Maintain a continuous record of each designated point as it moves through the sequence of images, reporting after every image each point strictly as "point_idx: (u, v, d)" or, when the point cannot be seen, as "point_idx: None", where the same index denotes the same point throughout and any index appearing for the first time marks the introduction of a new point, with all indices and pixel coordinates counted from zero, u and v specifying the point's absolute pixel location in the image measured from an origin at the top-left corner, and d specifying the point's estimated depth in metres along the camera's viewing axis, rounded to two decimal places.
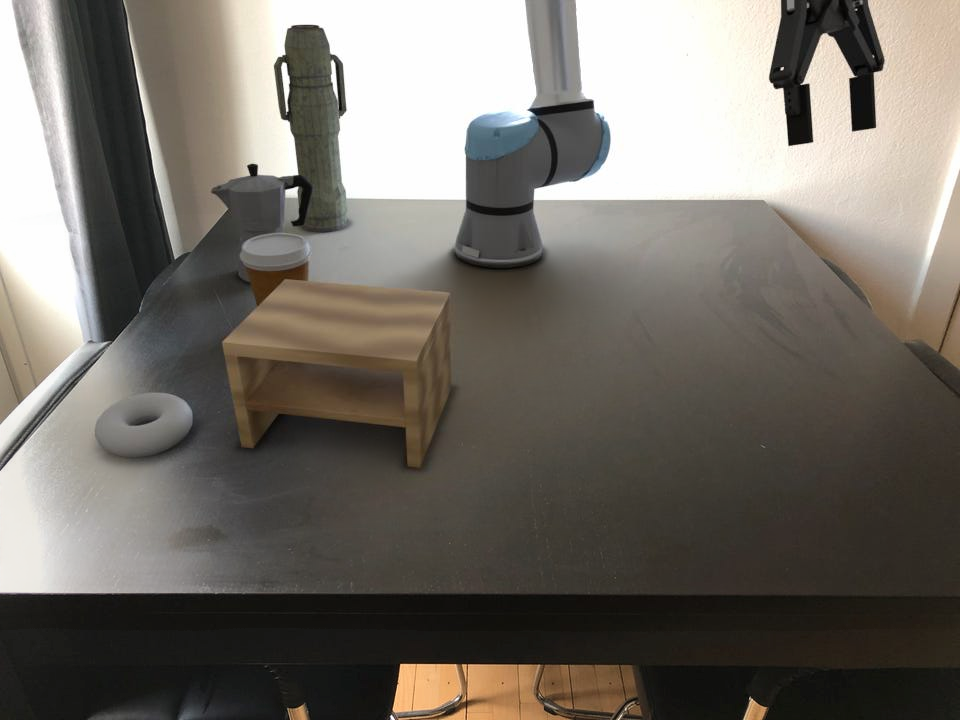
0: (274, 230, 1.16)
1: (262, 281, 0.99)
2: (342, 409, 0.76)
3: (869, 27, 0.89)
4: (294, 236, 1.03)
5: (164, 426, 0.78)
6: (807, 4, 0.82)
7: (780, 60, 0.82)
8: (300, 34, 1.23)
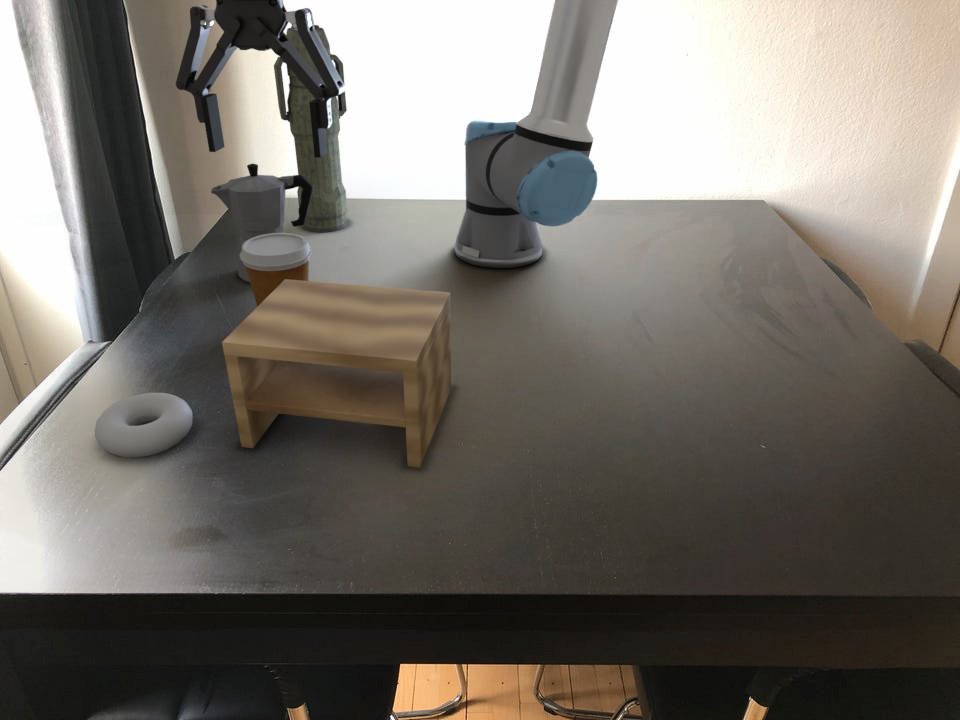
0: (274, 230, 1.16)
1: (262, 281, 0.99)
2: (342, 409, 0.76)
3: (309, 53, 0.85)
4: (294, 236, 1.03)
5: (164, 426, 0.78)
6: (201, 22, 0.85)
7: None
8: None
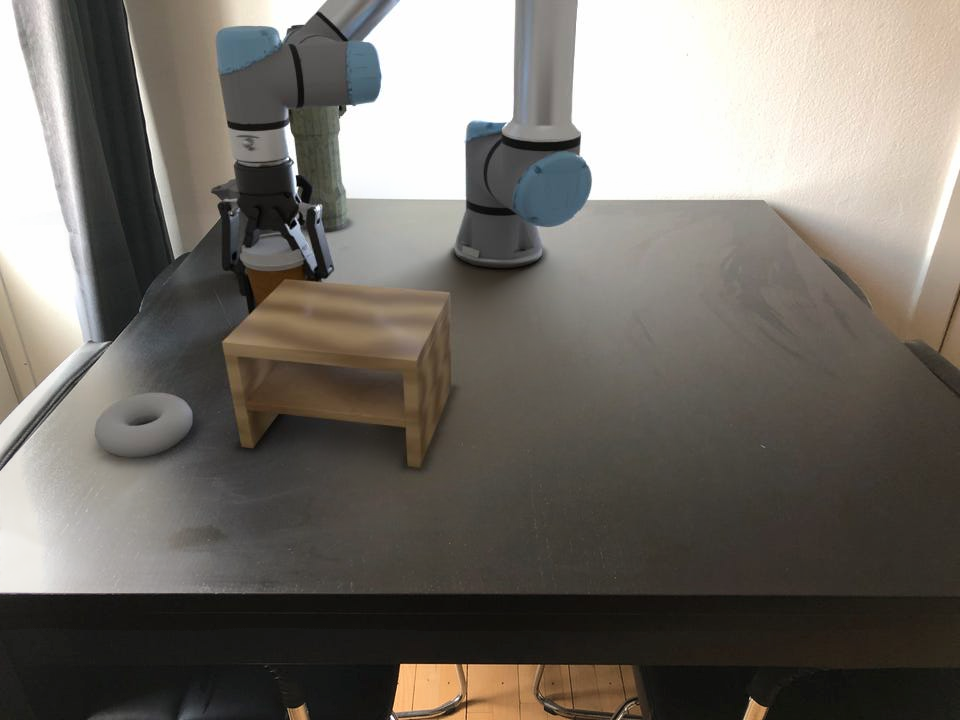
0: None
1: (262, 281, 0.99)
2: (342, 409, 0.76)
3: (310, 241, 0.98)
4: None
5: (164, 426, 0.78)
6: (228, 213, 0.98)
7: None
8: None
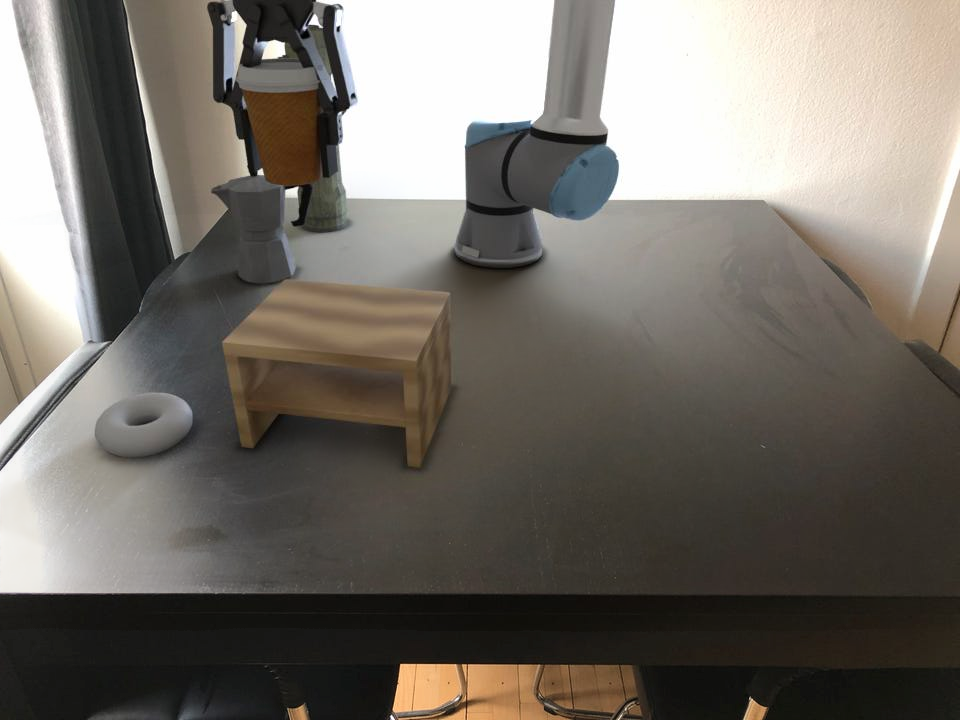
0: (274, 230, 1.16)
1: (263, 109, 0.76)
2: (342, 409, 0.76)
3: (328, 55, 0.74)
4: None
5: (164, 426, 0.78)
6: (221, 17, 0.75)
7: None
8: None
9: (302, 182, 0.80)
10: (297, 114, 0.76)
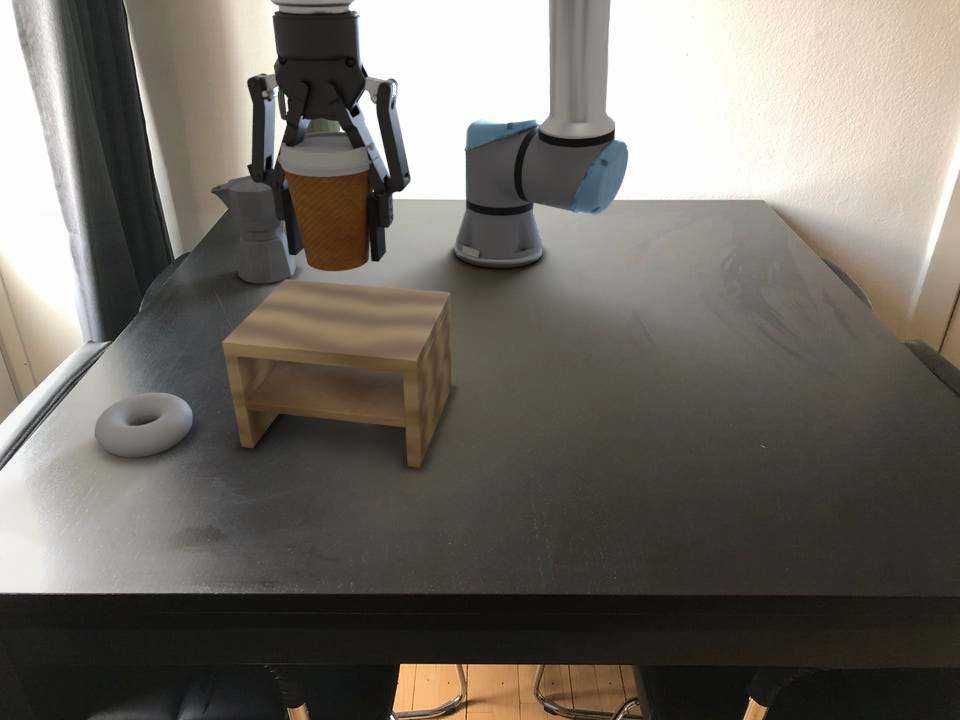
0: (274, 230, 1.16)
1: (310, 193, 0.69)
2: (342, 409, 0.76)
3: (381, 135, 0.68)
4: None
5: (164, 426, 0.78)
6: (263, 93, 0.68)
7: None
8: None
9: (349, 267, 0.74)
10: (347, 197, 0.69)
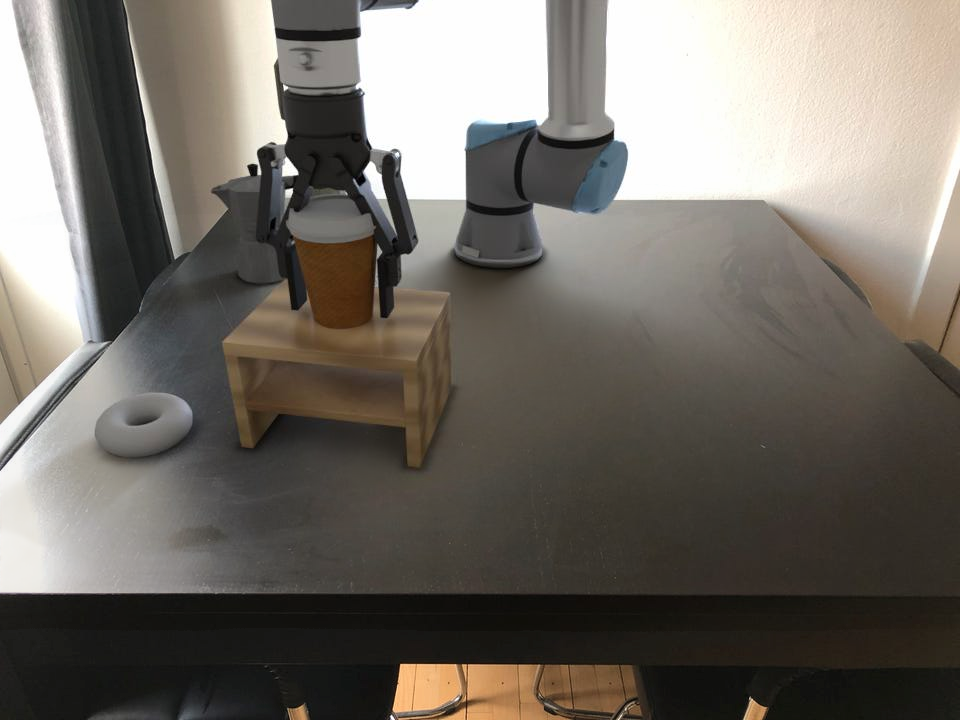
0: None
1: (317, 257, 0.72)
2: (342, 409, 0.76)
3: (388, 203, 0.71)
4: None
5: (164, 426, 0.78)
6: (271, 163, 0.71)
7: None
8: None
9: (354, 324, 0.77)
10: (352, 261, 0.73)
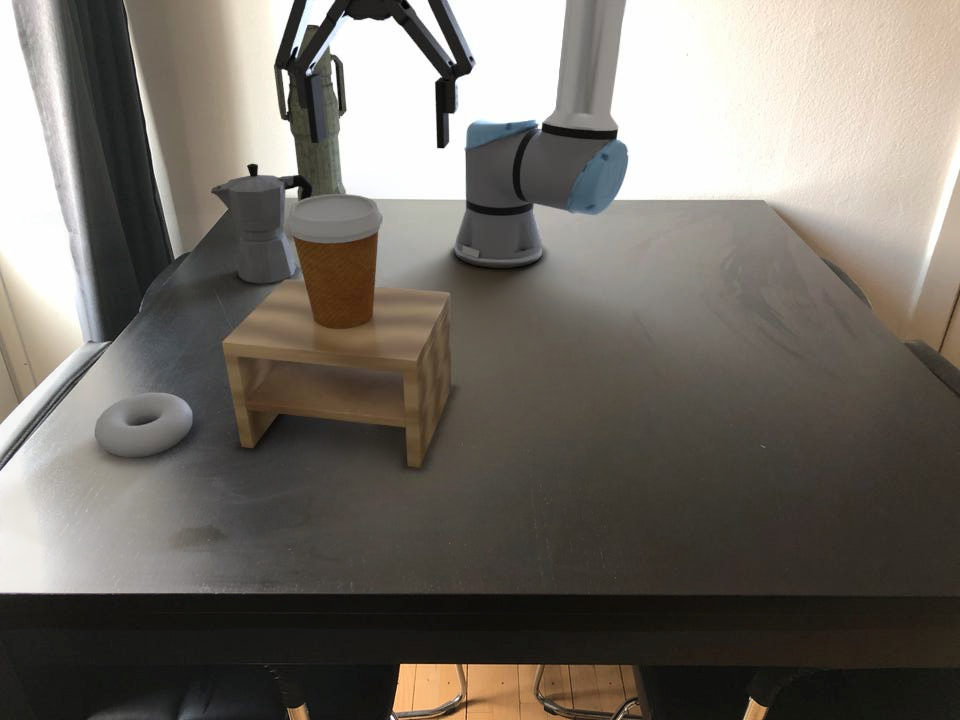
0: (274, 230, 1.16)
1: (317, 257, 0.72)
2: (342, 409, 0.76)
3: (438, 23, 0.70)
4: (357, 198, 0.76)
5: (164, 426, 0.78)
6: None
7: None
8: None
9: (354, 324, 0.77)
10: (352, 261, 0.73)
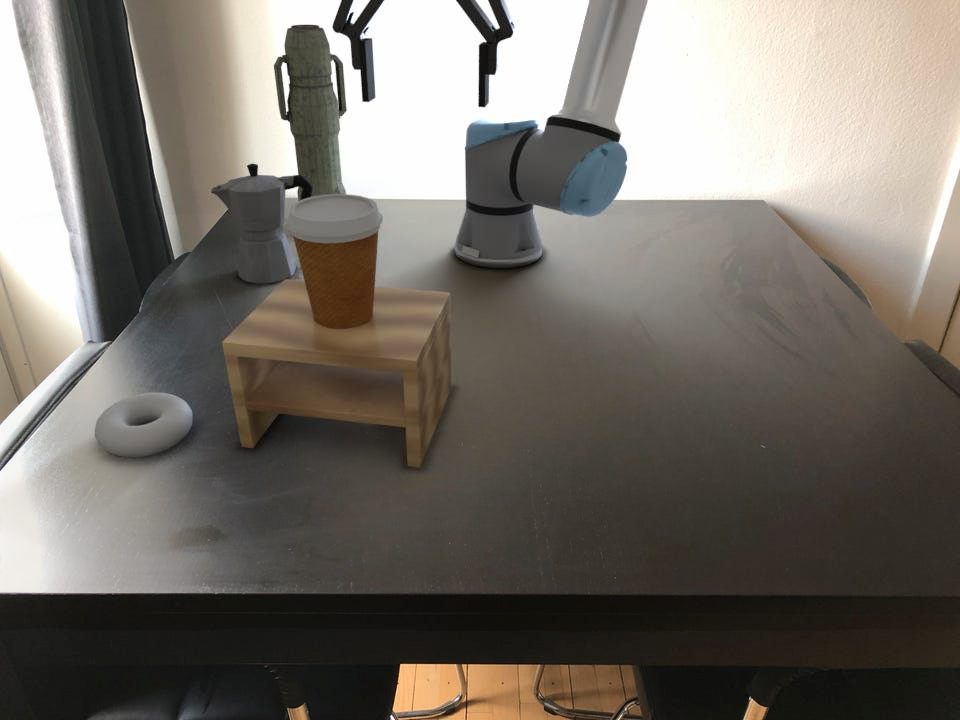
0: (274, 230, 1.16)
1: (317, 257, 0.72)
2: (342, 409, 0.76)
3: None
4: (358, 198, 0.76)
5: (164, 426, 0.78)
6: None
7: None
8: (300, 34, 1.23)
9: (354, 324, 0.77)
10: (352, 261, 0.73)
